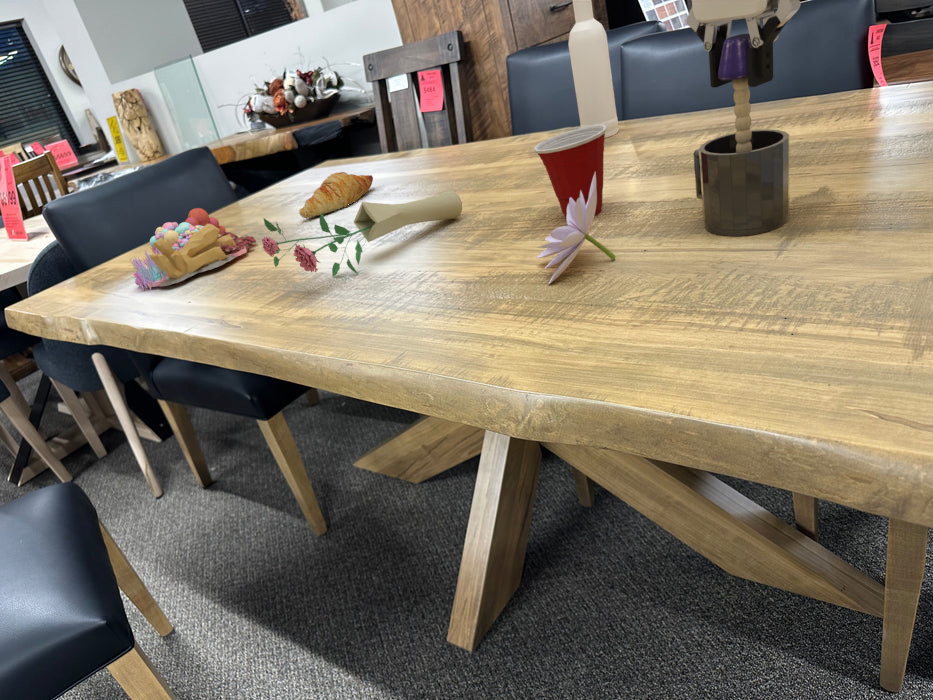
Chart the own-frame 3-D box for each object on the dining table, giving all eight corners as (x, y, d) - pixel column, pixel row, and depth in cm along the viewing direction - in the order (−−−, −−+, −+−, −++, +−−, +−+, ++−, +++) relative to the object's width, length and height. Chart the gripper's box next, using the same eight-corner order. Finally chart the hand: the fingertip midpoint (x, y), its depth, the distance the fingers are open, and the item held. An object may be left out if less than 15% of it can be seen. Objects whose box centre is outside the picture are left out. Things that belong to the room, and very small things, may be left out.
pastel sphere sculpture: (275, 245, 125) (257, 200, 121) (162, 298, 112) (137, 250, 108) (222, 237, 143) (204, 197, 138) (119, 282, 130) (96, 240, 125)
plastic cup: (559, 203, 105) (546, 130, 99) (625, 197, 99) (615, 119, 94) (537, 229, 97) (521, 150, 91) (606, 224, 91) (594, 140, 86)
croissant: (317, 237, 136) (316, 206, 130) (285, 216, 139) (282, 184, 133) (385, 199, 148) (387, 169, 142) (354, 181, 152) (354, 150, 146)
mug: (807, 213, 78) (808, 131, 73) (748, 242, 75) (746, 158, 70) (725, 199, 89) (721, 126, 84) (671, 223, 86) (664, 149, 81)
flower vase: (470, 263, 112) (297, 313, 89) (424, 238, 119) (252, 279, 96) (480, 198, 106) (297, 234, 83) (430, 176, 113) (249, 204, 90)
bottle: (575, 141, 140) (551, -11, 126) (596, 130, 144) (576, -18, 130) (604, 140, 135) (582, -19, 121) (626, 129, 139) (607, -26, 125)
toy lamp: (769, 184, 76) (766, 32, 68) (727, 192, 77) (719, 43, 69) (760, 173, 80) (756, 28, 72) (720, 180, 81) (712, 39, 73)
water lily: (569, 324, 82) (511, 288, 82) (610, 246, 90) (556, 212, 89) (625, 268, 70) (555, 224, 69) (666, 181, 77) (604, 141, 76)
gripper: (838, -137, 58) (832, 73, 67) (700, -92, 72) (709, 76, 81) (779, -122, 56) (780, 93, 65) (648, -79, 70) (663, 93, 79)
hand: (741, 82), depth 73 cm, fingers closed on toy lamp, 4 cm apart
